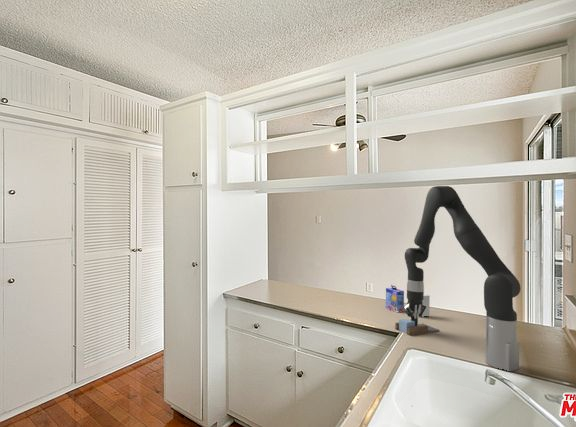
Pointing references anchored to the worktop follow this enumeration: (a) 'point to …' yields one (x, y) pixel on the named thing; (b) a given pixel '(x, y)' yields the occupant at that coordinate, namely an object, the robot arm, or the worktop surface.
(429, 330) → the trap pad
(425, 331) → the channel
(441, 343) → the worktop surface
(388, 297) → the ink cartridge box
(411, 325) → the block
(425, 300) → the skincare box
